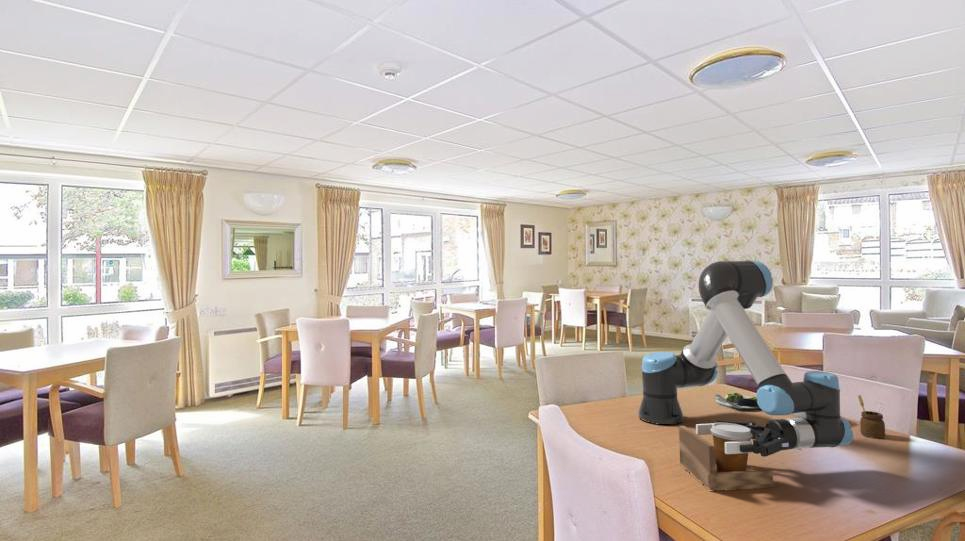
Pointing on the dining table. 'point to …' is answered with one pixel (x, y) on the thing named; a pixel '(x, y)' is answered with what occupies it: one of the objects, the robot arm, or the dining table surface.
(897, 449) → the dining table surface
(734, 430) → the disposable coffee cup
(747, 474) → the cradle
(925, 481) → the dining table surface
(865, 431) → the utensil holder
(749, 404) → the salad plate
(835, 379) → the robot arm
